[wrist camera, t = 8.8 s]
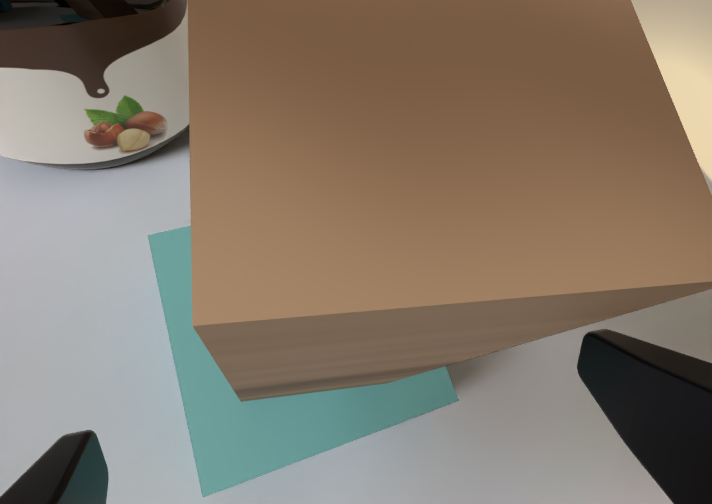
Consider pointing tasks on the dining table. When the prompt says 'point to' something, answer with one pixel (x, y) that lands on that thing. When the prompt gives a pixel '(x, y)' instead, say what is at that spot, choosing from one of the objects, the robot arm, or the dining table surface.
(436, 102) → the walnut block
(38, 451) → the dining table surface
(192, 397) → the teal base block
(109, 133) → the spread jar
